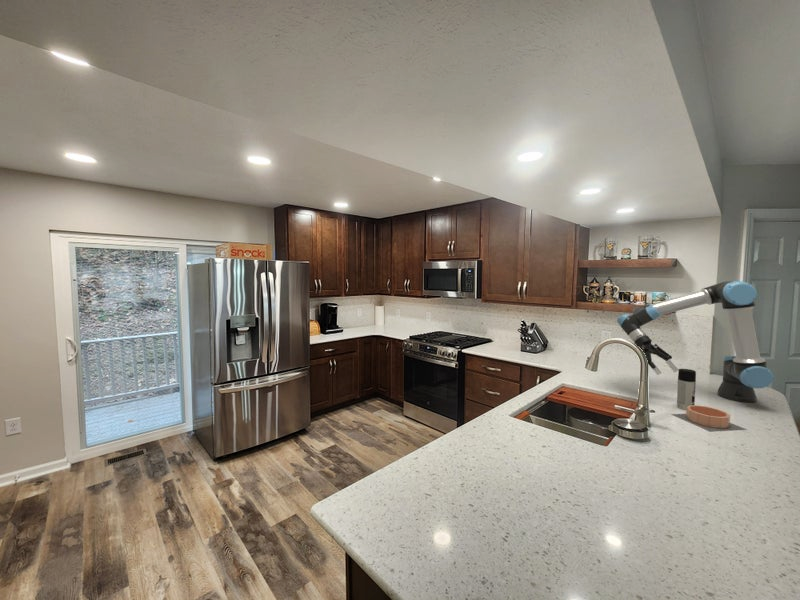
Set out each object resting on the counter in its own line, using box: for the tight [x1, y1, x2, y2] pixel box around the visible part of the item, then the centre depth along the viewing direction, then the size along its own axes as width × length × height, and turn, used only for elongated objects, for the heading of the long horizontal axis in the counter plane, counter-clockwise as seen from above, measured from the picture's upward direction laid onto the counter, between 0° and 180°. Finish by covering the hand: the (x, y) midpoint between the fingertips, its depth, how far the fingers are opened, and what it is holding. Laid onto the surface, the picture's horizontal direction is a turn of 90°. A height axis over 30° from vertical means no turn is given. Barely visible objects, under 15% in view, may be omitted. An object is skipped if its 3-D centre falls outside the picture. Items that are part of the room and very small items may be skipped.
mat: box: [670, 413, 748, 432], centre depth 149 cm, size 18×18×1 cm
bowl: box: [685, 404, 731, 429], centre depth 149 cm, size 14×14×5 cm
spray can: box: [676, 368, 697, 411], centre depth 164 cm, size 7×7×20 cm
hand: (668, 372), depth 171 cm, fingers open, 13 cm apart
